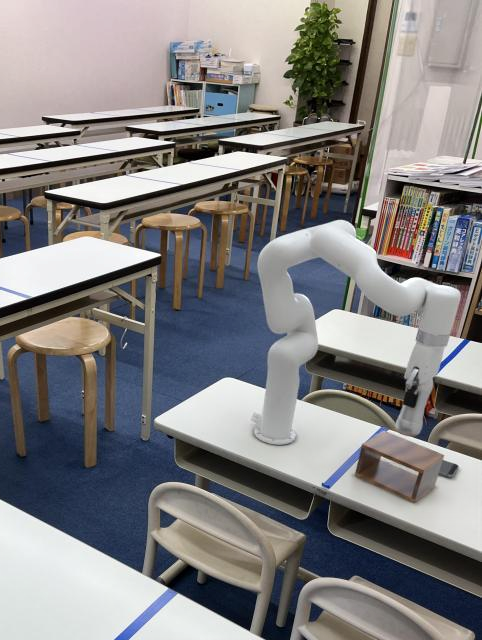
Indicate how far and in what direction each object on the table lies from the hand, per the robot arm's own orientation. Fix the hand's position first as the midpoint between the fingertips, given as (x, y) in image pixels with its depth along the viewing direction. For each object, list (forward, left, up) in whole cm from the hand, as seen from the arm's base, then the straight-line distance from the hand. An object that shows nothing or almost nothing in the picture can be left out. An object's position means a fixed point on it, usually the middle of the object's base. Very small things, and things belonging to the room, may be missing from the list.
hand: (415, 401), depth 181 cm
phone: (+2, +16, -25) cm, 30 cm away
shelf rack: (0, 0, -25) cm, 25 cm away
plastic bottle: (0, 0, -10) cm, 10 cm away
